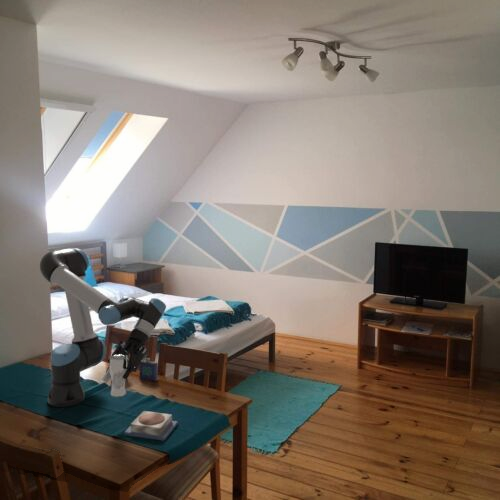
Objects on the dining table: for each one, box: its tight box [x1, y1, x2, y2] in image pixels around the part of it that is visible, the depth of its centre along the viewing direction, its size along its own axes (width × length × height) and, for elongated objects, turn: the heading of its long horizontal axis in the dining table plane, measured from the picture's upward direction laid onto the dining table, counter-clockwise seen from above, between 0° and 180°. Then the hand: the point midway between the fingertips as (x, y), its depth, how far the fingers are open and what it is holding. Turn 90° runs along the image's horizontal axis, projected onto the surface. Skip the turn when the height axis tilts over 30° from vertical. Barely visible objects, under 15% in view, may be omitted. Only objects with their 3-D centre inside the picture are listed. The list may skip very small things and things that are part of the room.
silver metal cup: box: [108, 355, 128, 398], centre depth 213 cm, size 7×7×15 cm
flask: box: [139, 357, 159, 382], centre depth 260 cm, size 9×3×11 cm, turn 74°
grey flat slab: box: [124, 420, 179, 442], centre depth 211 cm, size 16×14×1 cm
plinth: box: [130, 410, 173, 436], centre depth 210 cm, size 12×12×3 cm
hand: (111, 383), depth 211 cm, fingers closed on silver metal cup, 7 cm apart
